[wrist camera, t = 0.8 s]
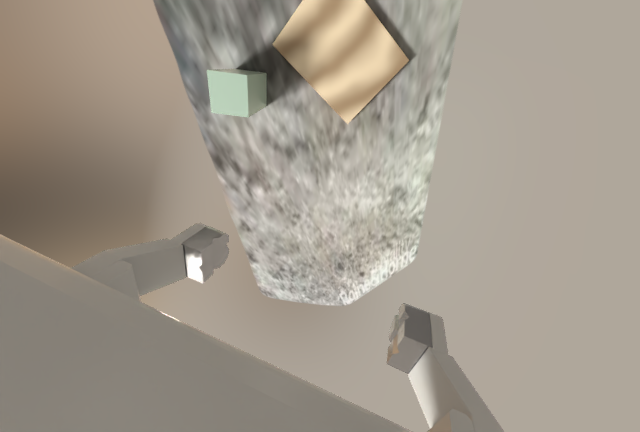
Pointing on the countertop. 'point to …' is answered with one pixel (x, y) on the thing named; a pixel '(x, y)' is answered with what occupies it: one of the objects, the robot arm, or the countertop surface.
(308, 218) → the countertop surface
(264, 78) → the mint green rectangular block
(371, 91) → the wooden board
